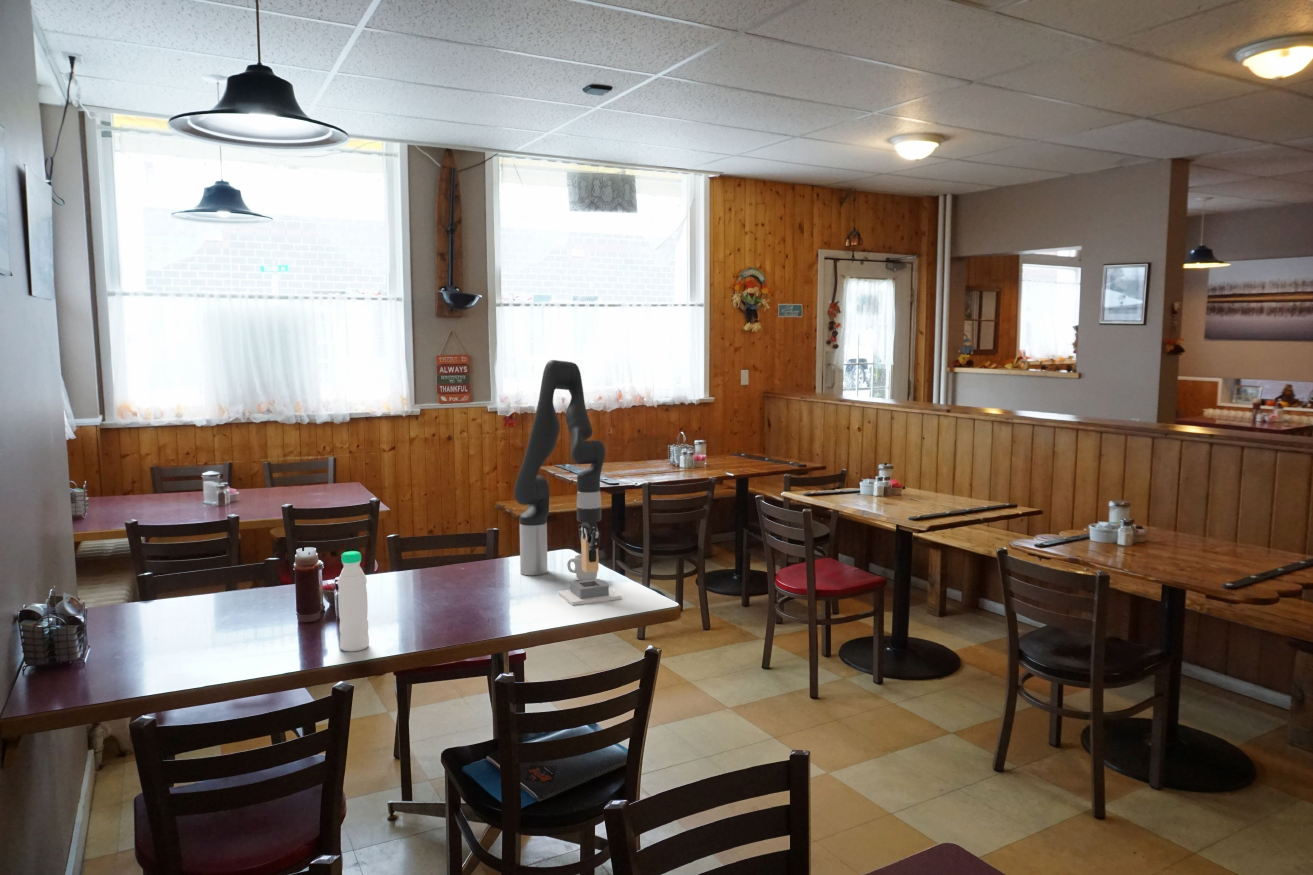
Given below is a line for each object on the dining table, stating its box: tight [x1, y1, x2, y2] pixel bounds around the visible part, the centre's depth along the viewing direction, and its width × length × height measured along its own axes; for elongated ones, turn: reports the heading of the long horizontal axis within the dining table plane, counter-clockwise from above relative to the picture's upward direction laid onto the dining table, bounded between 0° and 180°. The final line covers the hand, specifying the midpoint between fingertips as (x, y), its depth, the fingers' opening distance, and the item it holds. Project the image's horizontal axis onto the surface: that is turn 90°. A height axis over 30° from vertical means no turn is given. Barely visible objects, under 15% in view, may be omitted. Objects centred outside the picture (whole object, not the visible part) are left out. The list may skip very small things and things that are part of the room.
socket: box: [557, 578, 622, 606], centre depth 269 cm, size 13×16×4 cm
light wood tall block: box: [580, 538, 599, 573], centre depth 268 cm, size 4×4×12 cm
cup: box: [567, 553, 599, 581], centre depth 289 cm, size 11×8×8 cm
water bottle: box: [337, 550, 370, 653], centre depth 222 cm, size 7×7×25 cm
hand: (589, 559), depth 268 cm, fingers closed on light wood tall block, 4 cm apart
